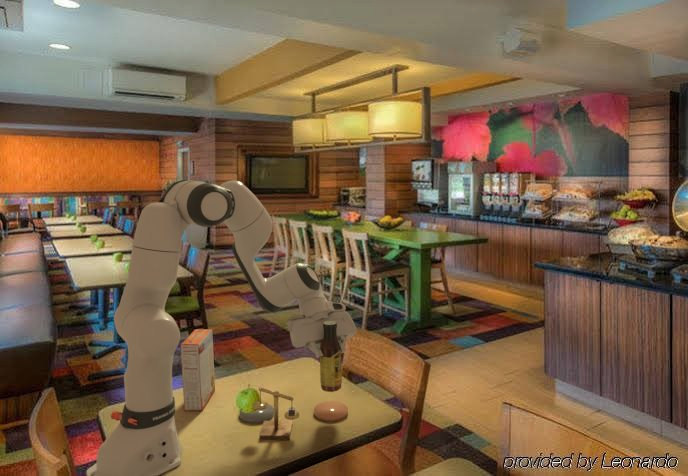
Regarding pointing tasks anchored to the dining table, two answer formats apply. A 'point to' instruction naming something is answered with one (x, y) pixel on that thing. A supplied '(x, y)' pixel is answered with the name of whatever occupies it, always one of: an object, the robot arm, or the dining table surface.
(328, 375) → the sauce bottle
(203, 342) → the cracker box
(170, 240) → the robot arm
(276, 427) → the brass balance
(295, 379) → the dining table surface
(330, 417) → the terracotta dish
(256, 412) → the slate dish
